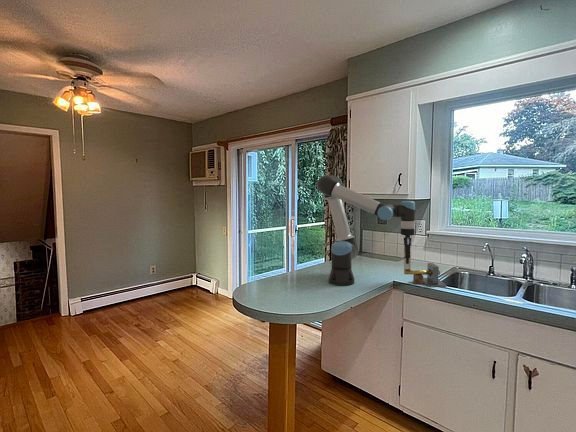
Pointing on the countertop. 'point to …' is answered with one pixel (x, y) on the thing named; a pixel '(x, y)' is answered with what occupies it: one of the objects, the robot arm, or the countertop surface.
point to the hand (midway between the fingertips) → (406, 268)
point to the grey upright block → (433, 277)
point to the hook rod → (416, 272)
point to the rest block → (418, 279)
